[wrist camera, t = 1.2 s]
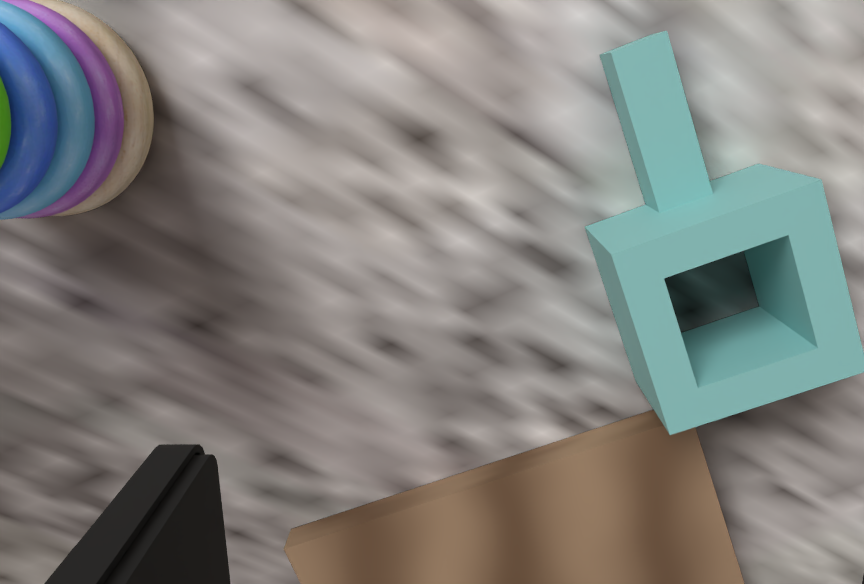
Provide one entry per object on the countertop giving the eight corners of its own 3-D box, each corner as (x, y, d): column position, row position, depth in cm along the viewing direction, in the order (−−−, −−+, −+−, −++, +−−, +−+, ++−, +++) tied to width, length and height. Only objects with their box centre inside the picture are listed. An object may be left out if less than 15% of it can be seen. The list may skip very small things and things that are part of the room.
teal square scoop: (801, 325, 30) (868, 370, 26) (636, 381, 31) (670, 435, 26) (717, 8, 27) (775, -8, 22) (535, 79, 28) (553, 78, 23)
